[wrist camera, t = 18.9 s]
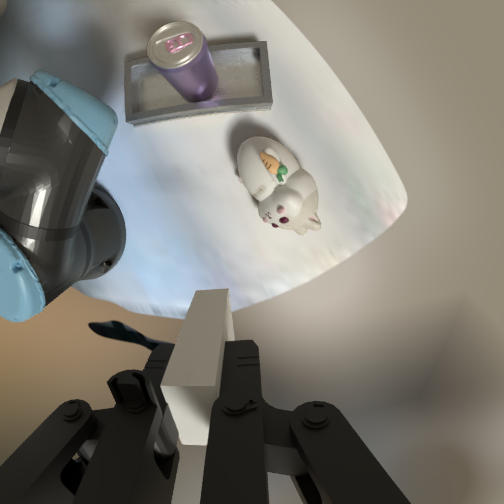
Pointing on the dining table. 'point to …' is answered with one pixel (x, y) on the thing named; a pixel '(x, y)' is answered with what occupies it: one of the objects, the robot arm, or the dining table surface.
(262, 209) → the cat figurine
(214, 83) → the beverage can
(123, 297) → the dining table surface
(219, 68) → the grey shallow rectangular tray
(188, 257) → the dining table surface
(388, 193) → the dining table surface
